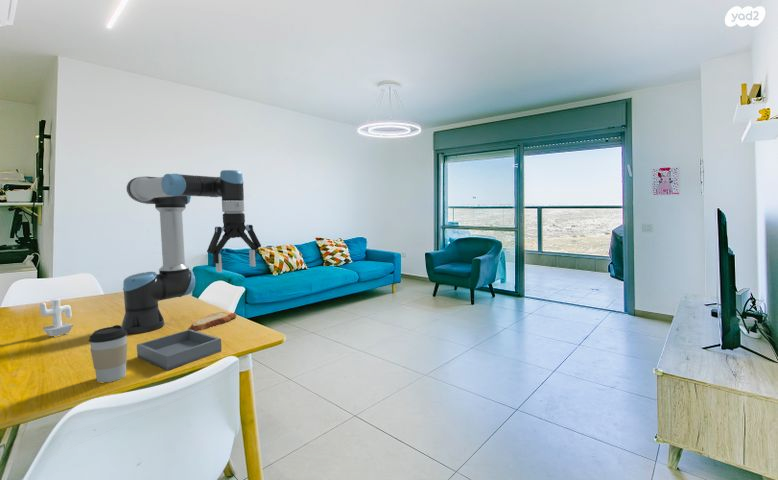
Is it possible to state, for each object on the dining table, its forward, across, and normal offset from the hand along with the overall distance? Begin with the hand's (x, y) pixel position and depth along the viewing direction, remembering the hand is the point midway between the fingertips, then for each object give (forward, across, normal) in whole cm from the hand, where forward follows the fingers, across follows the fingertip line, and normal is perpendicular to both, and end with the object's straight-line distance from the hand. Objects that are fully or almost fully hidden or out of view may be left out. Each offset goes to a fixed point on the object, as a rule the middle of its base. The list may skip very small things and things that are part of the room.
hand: (236, 269), depth 133 cm
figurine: (+29, -39, +67) cm, 83 cm away
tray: (+27, -20, +4) cm, 34 cm away
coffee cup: (+27, -40, +3) cm, 48 cm away
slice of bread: (+29, +6, +29) cm, 42 cm away
